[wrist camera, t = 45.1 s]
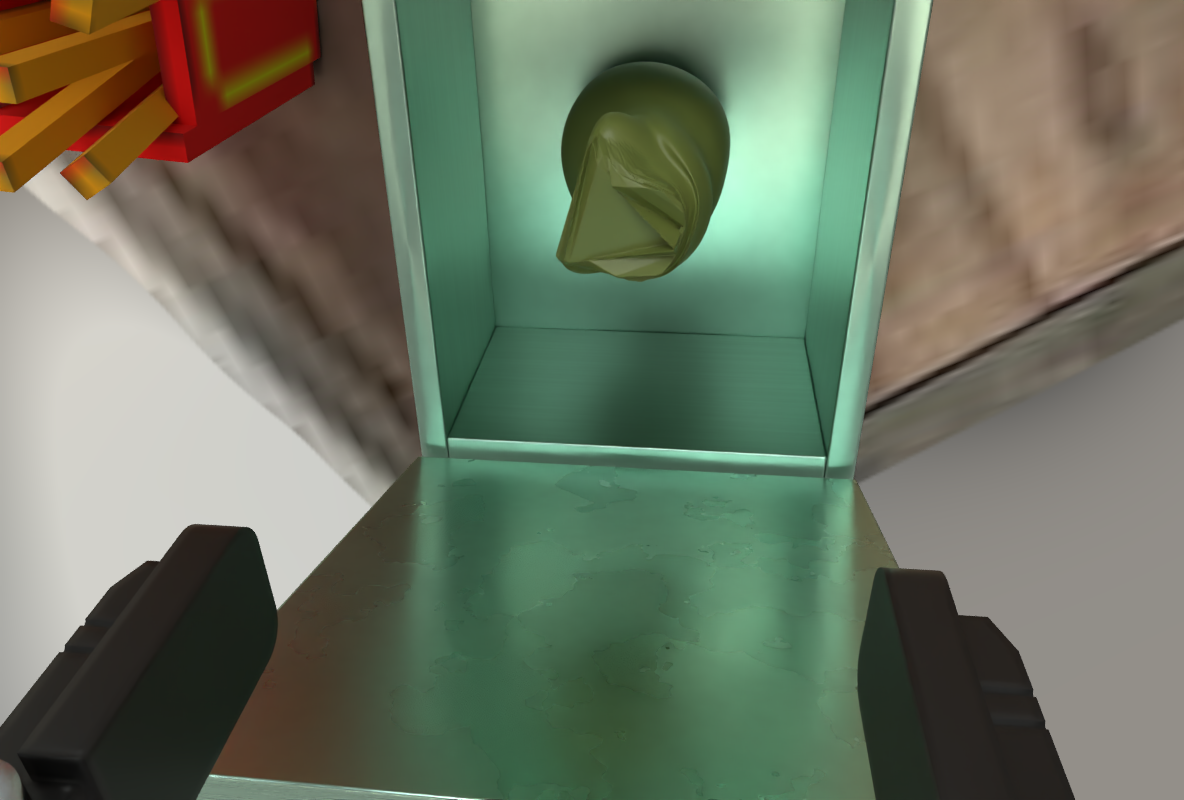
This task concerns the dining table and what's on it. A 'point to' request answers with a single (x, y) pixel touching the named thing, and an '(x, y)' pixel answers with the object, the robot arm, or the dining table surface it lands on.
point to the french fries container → (142, 79)
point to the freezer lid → (572, 643)
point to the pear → (641, 171)
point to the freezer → (691, 291)
